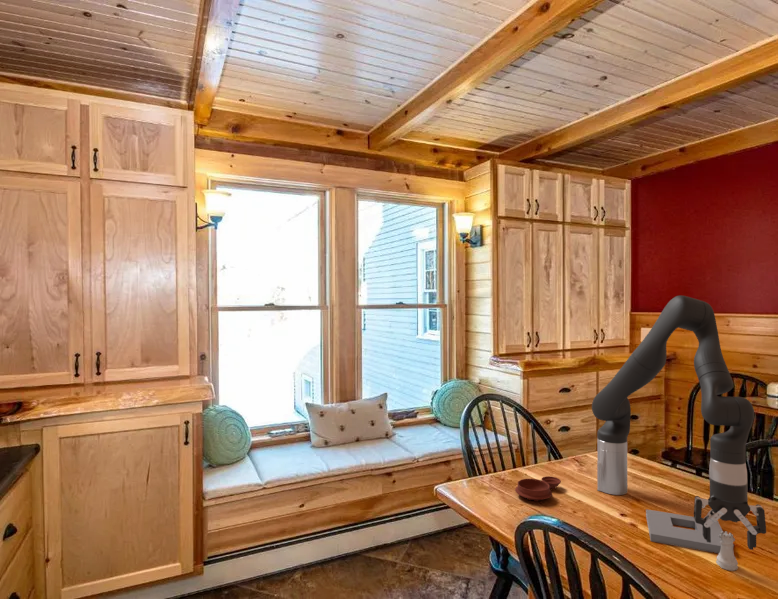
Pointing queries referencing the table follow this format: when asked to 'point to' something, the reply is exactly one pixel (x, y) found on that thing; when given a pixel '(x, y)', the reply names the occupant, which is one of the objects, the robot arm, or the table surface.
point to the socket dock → (681, 531)
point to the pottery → (537, 488)
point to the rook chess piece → (727, 552)
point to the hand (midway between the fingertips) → (729, 544)
